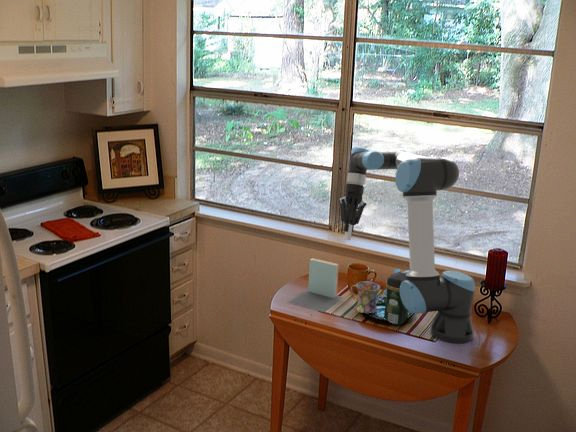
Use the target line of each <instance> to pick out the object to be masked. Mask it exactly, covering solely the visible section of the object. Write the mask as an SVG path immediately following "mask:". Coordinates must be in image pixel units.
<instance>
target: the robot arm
mask: <svg viewBox="0 0 576 432" xmlns="http://www.w3.org/2000/svg"><path fill="white" fill-rule="evenodd" d="M349 156H350V158H349V164H348V165H349V166H348V172H347V179H346V186H345V189H344V190H345V193H344V196H343V197H341V198H339V199H338V202H339V204H340V221H341V222H342V223H343V224H344V228H343V232H344V237H343V239H344V240H345V241H351V240H352V239H351V238H352V233H353V232H354V227H355V226H356V225H359V223H360V220H361V217H362V215H363V212H364V209H365V208H366V206H367V202H364V201H363V195H364V190H365V185H366V184H365V183H366V179H367V178H366V177H367V171H373V170H375V171H378V170H396V174H395V186H396V189H397V190H398V191H399V192H401V193H402V198H403V199H404V200H405V201H407V202H406V203H407V224H408V229H407V230H408V247H409V248H408V249H409V252H408V254H409V255H408V257H409V272H408V273H407V274H406V280H405V281H403V282H402V283H401V286H400V297H401V300H402V303H403V305H404V306H405V308H406V309H407V310H408V313H409V312H410V313H411V314H425V313H432V312H433V313H434V312H437V313H436V315H435V317H434V318H433V320H432V323H431V325H430V333H431V335H432V336H433V337H435V338H436V339H438V340H440V341H444V342H446V343H451V344H465V343H469V342H471V341H472V340H473V339H474V328H473V321H472V311H473V310H472V308H473V301H474V294H475V291H476V290H475V288H476V287H475V286H476V282H475V280H474V278H473V277H471V276H470V275H468V274H466V273H463V272H460V271H456V270H444V271H442V274H441V277H440V273H439V272H438V271H437V270H436V263H435V262H436V261H435V235H434V208H433V207H434V205H433V200H435V198H437V195H438V194H437V191H445V190H448V189H451V188H452V187H454V185H455V184H456V183H457V182H458V179H459V176H460V169H459V167H458V164H457V163H456V162H455V161H454V160H452V159H451V158H448V157H428V156H423V155H419V154H414V153H412V152H411V151H409V150H405V149H404V150H403V149H402V150H401V149H400V150H370V149H369V148H367V147H363V146H362V147H361V146H353V147H352V148H351V152H350V155H349Z"/></svg>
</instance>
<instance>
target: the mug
mask: <svg viewBox="0 0 576 432" xmlns="http://www.w3.org/2000/svg"><path fill="white" fill-rule="evenodd" d="M353 287H355V288H356V289H357V293H358V296H356V294H355V293H354V291H353ZM380 289H381V286H380V285H379V284H378V283H377V282H373V281H368V280H367V281H365V280H364V281H359V282H357V283H356V284H353V285H351V286H350V292H351V294H352V295H353V297H354V298H355V299H356V302H357V304H356V305H355V311H357V312H359V313H362V314H363V312H375V313H377V312H376V311H378V308H377V304H376V301H377V297H378V296H377V295H378V293H379V291H380Z"/></svg>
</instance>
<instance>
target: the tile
mask: <svg viewBox="0 0 576 432" xmlns="http://www.w3.org/2000/svg"><path fill="white" fill-rule="evenodd" d="M339 266H340V264H339V263H335V262H331V261H327V260H322V259H318V258H313V257H312V258H310V259H309V268H308V282H307V283H308V285H307V286H308V288H307V289H308V292H312V293H316V294H320V295H324V296H328V297H331V298H335V297H336V296H338V295H337V294H338V281H339Z"/></svg>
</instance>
